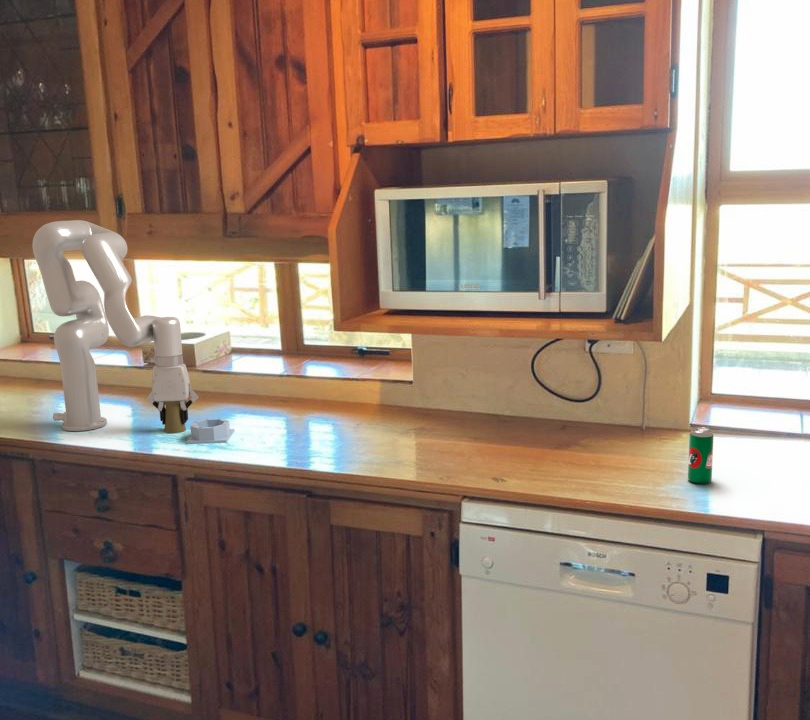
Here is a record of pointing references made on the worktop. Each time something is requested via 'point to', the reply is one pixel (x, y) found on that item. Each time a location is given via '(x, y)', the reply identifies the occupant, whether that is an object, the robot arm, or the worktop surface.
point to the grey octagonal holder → (210, 431)
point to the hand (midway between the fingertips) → (174, 422)
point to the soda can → (700, 455)
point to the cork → (173, 418)
